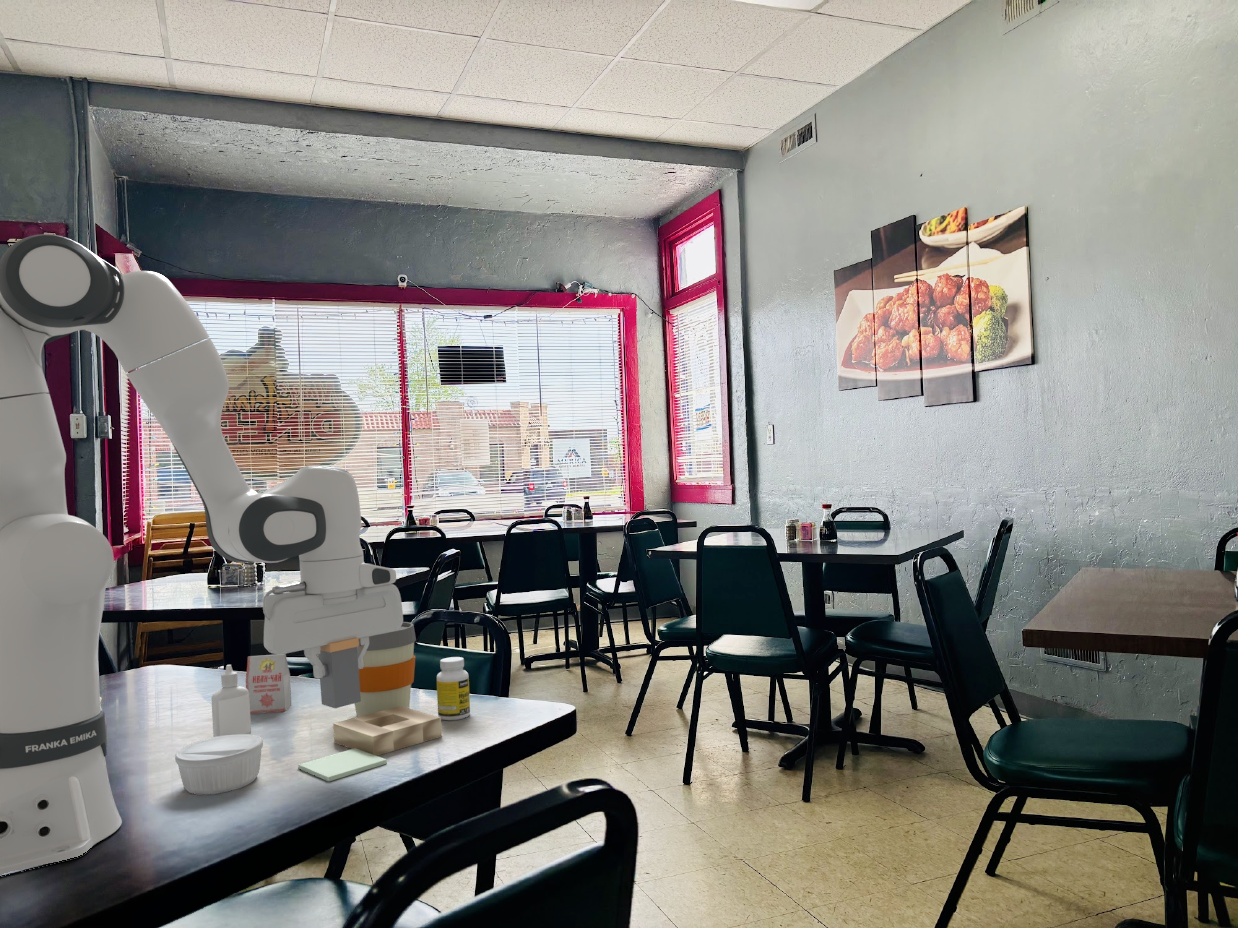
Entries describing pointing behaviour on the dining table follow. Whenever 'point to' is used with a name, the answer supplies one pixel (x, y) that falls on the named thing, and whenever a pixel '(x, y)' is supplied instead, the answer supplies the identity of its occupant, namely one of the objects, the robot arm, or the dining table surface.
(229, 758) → the ramekin
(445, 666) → the supplement bottle
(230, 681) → the eye dropper bottle
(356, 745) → the socket block
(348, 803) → the dining table surface
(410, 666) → the reusable coffee cup
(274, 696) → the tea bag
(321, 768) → the coaster
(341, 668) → the plug
